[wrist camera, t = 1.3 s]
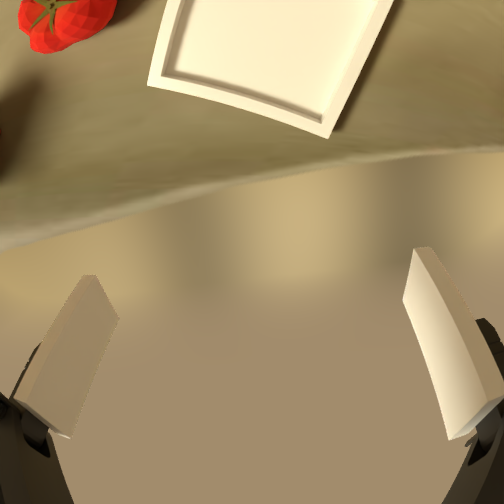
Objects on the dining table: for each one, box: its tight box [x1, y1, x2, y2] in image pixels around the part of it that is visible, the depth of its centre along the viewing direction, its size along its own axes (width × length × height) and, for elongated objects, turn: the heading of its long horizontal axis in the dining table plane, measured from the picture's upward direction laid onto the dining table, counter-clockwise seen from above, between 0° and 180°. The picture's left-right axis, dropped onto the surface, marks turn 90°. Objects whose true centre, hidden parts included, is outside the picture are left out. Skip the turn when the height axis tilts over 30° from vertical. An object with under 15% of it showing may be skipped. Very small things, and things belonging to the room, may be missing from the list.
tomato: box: [18, 0, 117, 54], centre depth 17 cm, size 10×11×6 cm
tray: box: [147, 0, 394, 139], centre depth 21 cm, size 16×18×2 cm
